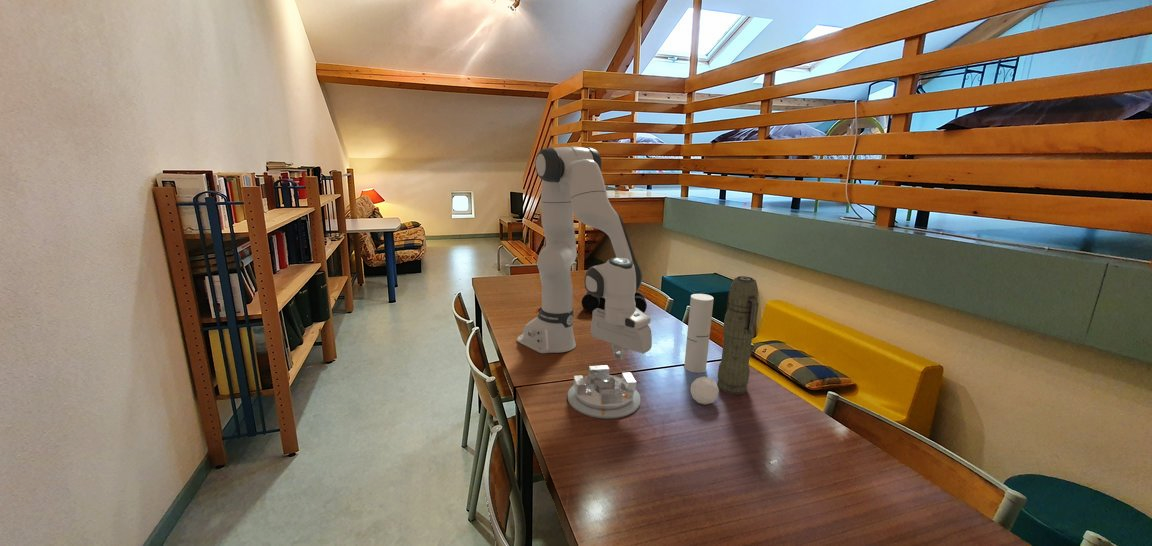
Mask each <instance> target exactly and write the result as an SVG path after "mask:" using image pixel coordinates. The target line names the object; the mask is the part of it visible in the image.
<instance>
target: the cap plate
mask: <svg viewBox="0 0 1152 546" xmlns="http://www.w3.org/2000/svg"><path fill="white" fill-rule="evenodd" d="M567 400H568V401H567V402H568V404H569V405H570V407H572V409H574V410H575V411H577V413H580V414H582V415H585V416H588V417H592V418H595V419H602V420H603V419H605V420H607V419H608V420H609V419H612V420H613V419H619V418H624V417H627V416H629V415H631V414H633V413H635V411H637V410H638V409H639V407H640V405H641V395H640V393H639V391H638V390H637V389H636V391H634V396H633V401H632V402H631V403H630V404H629V405H628V406H626V407H624V408H621V409H617V410H598V409H593V408H590V407H587V406H585V405H583V404H581V403H580V402H579V401H578V400H577V399H576V397H575V388H574V384H573V385H572V386H571V387H570V388H569V390H568V391H567Z"/></svg>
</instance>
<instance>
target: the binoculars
mask: <svg viewBox="0 0 1152 546" xmlns="http://www.w3.org/2000/svg"><path fill="white" fill-rule="evenodd" d="M634 299H635V303H636V308H637V309H639V310H640V311H641V312H643V313H644V314H645V312H646V311H647V305H648V303H647V301H646V298H645V296H644V294H643V293H642V292H641V291H640V290H637V291H636V292H635V296H634ZM581 306H582V308H583V309H584V310H585V311H587V312H593V310H594V309H596V308H600V309H603V310H605V298H603V297H601V298H599V297H594V296H592V295H591V294H590V293H589V292H588V291H586V294H584V296H583V297H582V299H581ZM595 311H596V310H595Z"/></svg>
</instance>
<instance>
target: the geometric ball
mask: <svg viewBox="0 0 1152 546" xmlns="http://www.w3.org/2000/svg"><path fill="white" fill-rule="evenodd" d="M717 383H718V382H716V381H715V380H714V379H712V378H711V377H708V376H704V375H703V376H700V377H697V378H695V380H694V381H692V382H691V386H690V393H691V397H692V398H693V399H694V401H695V402H697V403H698V404H701V405H709V404H710V405H711V404H713V403H714V402H715V401H716V400H717V399H718V397H719V392H720V389H719V388H718V386H717Z"/></svg>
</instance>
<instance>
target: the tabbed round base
mask: <svg viewBox="0 0 1152 546" xmlns="http://www.w3.org/2000/svg"><path fill="white" fill-rule="evenodd" d="M573 385H574V388H575V397H576V399H577V400H578V401H579V402H580V403H581V404H583V405H585V406H587V407H590V408H593V409H598V410H617V409H621V408H624V407H626V406H628V405H629V404H630V403H631V402H632V401H633V396H634V391H636V390H637V389H636V388H637V381H636V380H635V378H634V376H633V374H632V372H622V373H621V377H619V376H617V375H611V374H610V367H609V366H608V365H607V364H604V365H602V364H601V365H589V366H588V375H587V376H585V377H584V375H583V374H582V375H573Z"/></svg>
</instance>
